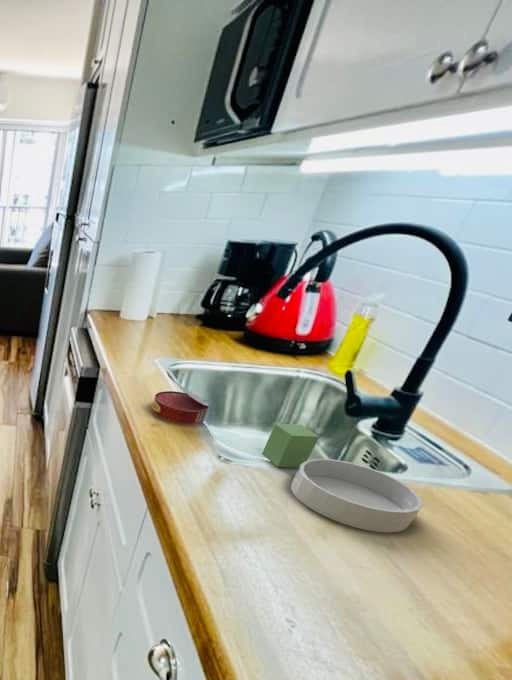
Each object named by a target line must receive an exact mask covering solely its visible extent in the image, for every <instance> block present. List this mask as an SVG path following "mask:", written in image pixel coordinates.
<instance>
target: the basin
mask: <svg viewBox="0 0 512 680" xmlns="http://www.w3.org/2000/svg"><path fill="white" fill-rule="evenodd" d="M290 489H291V492H292V494H293V495H294V497H295V498H297V500H298V501H299V502H301V503H302V504H304V506H306V507H308V508H309V509H311V510H312V511H314V512H316V513H318V514H319V515H322V516H323V517H326V518H327V519H328V518H329V519H330V520H333V521H334V522H338V523H341V524H344V525H346V526H349V527H352V528H356V529H362V530H365V531H370V532H376V533H398V532H402V531H404V530H406V529H408V527H409V526H410V525H411V524H412V522H413V521H414V519H415V518H416V517H417V515H418V514H419V513H420V511H421V509H422V508H423V506H424V502H423V499H422V497H421V495H420V494H419V493H418V492H416V490H414V489H413V488H412V487H411V486H409V485H407V483H404V482H403V481H401V480H399V479H398V478H396V477H393V476H391V475H389V474H387V473H384V472H382V471H379V470H377V469H374V468H371V467H368V466H364V465H361V464H357V463H354V462H350V461H345V460H338V459H333V458H314V459H313V458H312V459H308V460H307V461H305V462H304V463H302V464H301V465H300V467H299V468H297V470H296V472H295V475H294V477H293V480H292V482H291V485H290Z"/></svg>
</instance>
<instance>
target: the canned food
mask: <svg viewBox="0 0 512 680" xmlns="http://www.w3.org/2000/svg"><path fill="white" fill-rule="evenodd" d="M165 372H166V374H167V376H168V377H169V378H170V380H172V381H173V382H174V383H175V385H177V386H178V387H179V388H180V390H182V391H183V392H182V391H172V390H171V391H170V390H168V391H166V390H164V391H160V392H157V393H156V394H155V395H154V399H153V402H152V404H151V405H152V406H151V408H150V409H151V412H152V414H153V415H154V416H156V417H157V418H159V419H161V420H164V421H167V422H169V423H173V424H174V423H175V424H178V425H184V426H185V425H187V426H193V425H195V426H196V425H199V424H202V423H204V421H205V418H206V415H207V412H208V410H209V408H210V404H209V403H208V402H207V401H206V400H205V399H203V398H201V397H200V396H198V395H197V394H195V393H193V392H192V391H190V390H189V389H187V388H185V387H183V386H182V385H180V384H179V383H178V382H177V381H176V380H175V379H174V378H173V376H172V375H171V374H170V373H169V372H168V370H165Z"/></svg>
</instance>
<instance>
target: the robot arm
mask: <svg viewBox="0 0 512 680" xmlns="http://www.w3.org/2000/svg"><path fill="white" fill-rule="evenodd" d="M507 321H508V322H509V323H512V312H511V313H510V314H509V317H508V318H507Z"/></svg>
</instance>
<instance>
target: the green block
mask: <svg viewBox="0 0 512 680" xmlns="http://www.w3.org/2000/svg"><path fill="white" fill-rule="evenodd" d="M319 439H320V436H319V435H317V433H315V432H313V431H312V430H310V429H309V428H307V427H306V426H304V425H303V424H298V423H297V424H296V423H295V424H293V423H275V424H274V425H273V428H272V430H271V433H270V434H269V437H268V439H267V441H266V443H265V446H264V448H263V450H262V452H261V455H262V456H263V457H265V459H267V460H268V461H269V462H271V463H272V464H273V465H274V466H275V467H276V468H292V469H295V468H296V469H299V467H300V465H301V464H302V463H304V462H305V461H307V460H309V458H310V456H311V455H312V452H313V450H314V448H315V446H316V444H317V443H318V441H319Z"/></svg>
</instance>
